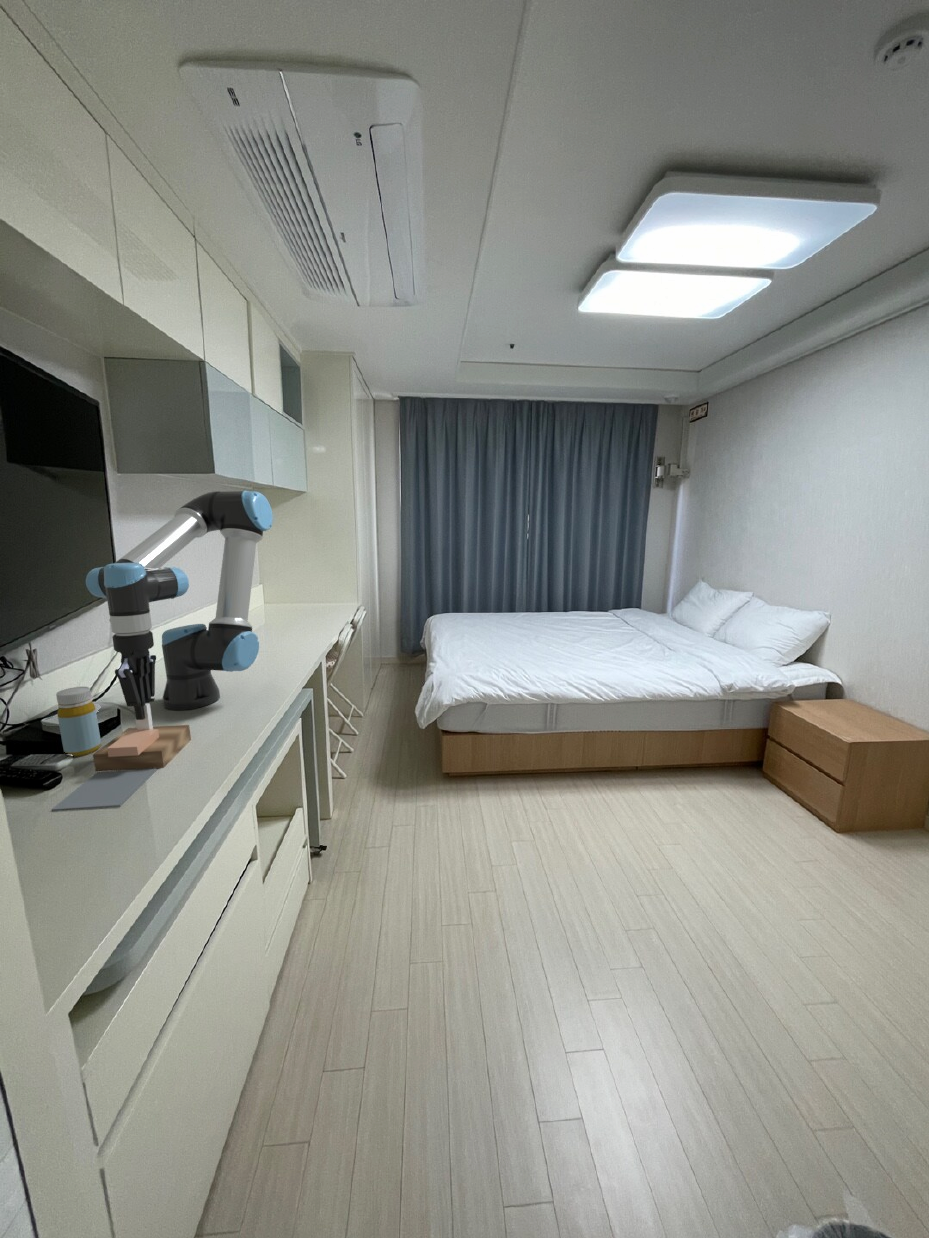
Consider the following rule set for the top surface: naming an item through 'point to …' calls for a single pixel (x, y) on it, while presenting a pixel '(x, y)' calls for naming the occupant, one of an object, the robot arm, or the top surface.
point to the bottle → (78, 721)
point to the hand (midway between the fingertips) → (145, 730)
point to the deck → (146, 750)
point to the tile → (133, 743)
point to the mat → (105, 790)
